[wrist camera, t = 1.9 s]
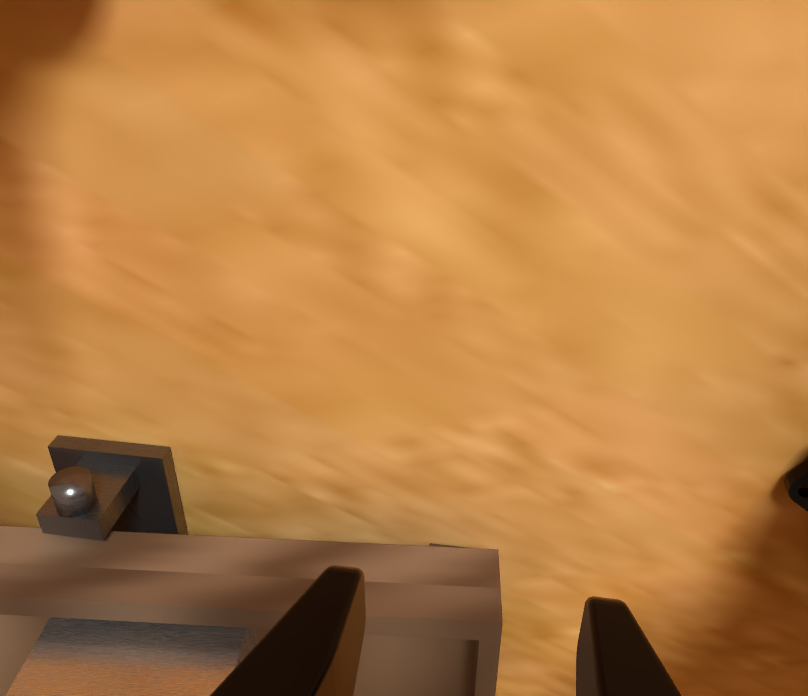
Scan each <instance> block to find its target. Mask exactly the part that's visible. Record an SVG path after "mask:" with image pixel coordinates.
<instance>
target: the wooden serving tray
mask: <svg viewBox="0 0 808 696" xmlns="http://www.w3.org/2000/svg"><path fill="white" fill-rule="evenodd" d="M331 565H339V566H347V567H355V568H359V569H361V570H362V571H363V573H364V581H365V606H366V622H365V632H364V638H363V643H362V649H361V655H360V660H359V666H358V671H357V677H356V683H355V688H354V694H353V696H495V691H496V681H497V671H498V661H499V652H500V642H501V632H502V606H501V589H500V572H499V555H498V550H495V549H474V548H453V547H432V546H411V545H390V544H369V543H348V542H327V541H306V540H285V539H264V538H243V537H222V536H201V535H180V534H159V533H138V532H117V531H109V533H108V534H107V536H106V537H105V539H104V540H94V539H86V538H78V537H70V536H62V535H54V534H46V533H43V532H42V529H41V528H33V527H12V526H0V696H6V694H7V692H8V690H9V689H10V687H11V685H12V683H13V682H14V680H15V678H16V676H17V675H18V673H19V671H20V669H21V668H22V666H23V664H24V662H25V661H26V659H27V657H28V655H29V654H30V652H31V650H32V648H33V647H34V645H35V643H36V641H37V639H38V638H39V636H40V634H41V632H42V631H43V629H44V627H45V625H46V624H47V622H48V620H49V618H50V617H57V618H75V619H94V620H112V621H130V622H149V623H167V624H186V625H204V626H223V627H241V628H256V631H257V638H258V642H259V641H260V640H261V639H262V638H263V637H264V636H265V635H266V633H267V632H268V631H269V630H270V629H271V628H272V627H273V626H274V625H275V624H276V623H277V621H278V620H279V619H280V618H281V617H282V616H283V615H284V614H285V613H286V612H287V611H288V609H289V608H290V607H291V606H292V605H293V604H294V603H295V602H296V601H297V600H298V598H299V597H300V596H301V595H302V594H303V593H304V592H305V591H306V590H307V589H308V588H309V586H310V585H311V584H312V583H313V582H314V581H315V580H316V579H317V578H318V577H319V576H320V574H321V573H322V572H323V571H324V570H325V569H326V568H327V567H329V566H331Z"/></svg>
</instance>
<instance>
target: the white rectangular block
mask: <svg viewBox="0 0 808 696" xmlns="http://www.w3.org/2000/svg"><path fill="white" fill-rule="evenodd" d="M257 643H258V638H257V631H256V628H241V627H223V626H204V625H186V624H167V623H149V622H130V621H112V620H94V619H75V618H57V617H50V618H49V620H48V622H47V624H46V625H45V627H44V629H43V631H42V632H41V634H40V636H39V638H38V639H37V641H36V643H35V645H34V647H33V648H32V650H31V652H30V654H29V655H28V657H27V659H26V661H25V662H24V664H23V666H22V668H21V669H20V671H19V673H18V675H17V676H16V678H15V680H14V682H13V683H12V685H11V687H10V689H9V690H8V692H7V694H6V696H210V695H211V694H212V693H213V691H214V690H215V689H216V688H217V687H218V686H219V685H220V684H221V683H222V682H223V681H224V679H225V678H226V677H227V676H228V675H229V674H230V673H231V672H232V671H233V670H234V668H235V667H236V666H237V665H238V664H239V663H240V662H241V661H242V660H243V659H244V658H245V656H246V655H247V654H248V653H249V652H250V651H251V650H252V649H253V648H254V647H255V646H256V644H257Z"/></svg>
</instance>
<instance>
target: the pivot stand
mask: <svg viewBox="0 0 808 696" xmlns="http://www.w3.org/2000/svg"><path fill="white" fill-rule="evenodd" d="M48 449H49V452H50V455H51V458H52V462H53V465H54V468H55V471H56V473H55V474H54V475H53V476H52V477H51V478H50V480H49V482H48V486H49V489H50V492H51V497H50V498H49V499H48V500H47V501H46V503H45V504H44V505H43V506H42V507H41V509H40V510H39V511H38V512H37V514H36V515H37V518H38V521H39V524H40V526H41V529H42V532H43V533H46V534H54V535H62V536H70V537H78V538H86V539H94V540H104V539H105V537H106V536H107V534H108V533H109V531H117V532H138V533H159V534H180V535H188V533H187V528H186V523H185V518H184V513H183V508H182V503H181V498H180V494H179V489H178V484H177V479H176V474H175V469H174V464H173V459H172V454H171V450H170V447H164V446H154V445H144V444H135V443H125V442H116V441H106V440H96V439H87V438H77V437H68V436H57V437H56V438H55V439H54V440H53V441H52V442H51V444H50V445H49V446H48ZM430 546H432V547H453V548H465V547H457V546H448V545H440V544H431V543H430Z"/></svg>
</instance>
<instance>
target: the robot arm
mask: <svg viewBox="0 0 808 696" xmlns="http://www.w3.org/2000/svg"><path fill="white" fill-rule="evenodd" d="M805 484H808V461H806V462H805V463H803V464H802V465H801V466H799V467H798V468H796V469H795V470H793V471H792V472H791V473H790V474H789V475H788V476H787V477H786V479H785V487H786V490H787V492H788V495H789V497H790V498H791V499H792V500H793V501H794V502H795V503H797V504H798V505H800V506H801V507H802V508H804V509H805V510H806V511H808V487H807V488H800V487H801V486H802V485H805ZM365 622H366V606H365V581H364V573H363V571H362V570H361V569H359V568H355V567H347V566H339V565H331V566H329V567H327V568H326V569H325V570H324V571H323V572H322V573H321V574H320V576H319V577H318V578H317V579H316V580H315V581H314V582H313V583H312V584H311V585H310V586H309V588H308V589H307V590H306V591H305V592H304V593H303V594H302V595H301V596H300V597H299V598H298V600H297V601H296V602H295V603H294V604H293V605H292V606H291V607H290V608H289V609H288V611H287V612H286V613H285V614H284V615H283V616H282V617H281V618H280V619H279V620H278V621H277V623H276V624H275V625H274V626H273V627H272V628H271V629H270V630H269V631H268V632H267V633H266V635H265V636H264V637H263V638H262V639H261V640H260V641H259V642H258V643H257V644H256V646H255V647H254V648H253V649H252V650H251V651H250V652H249V653H248V654H247V655H246V656H245V658H244V659H243V660H242V661H241V662H240V663H239V664H238V665H237V666H236V667H235V668H234V670H233V671H232V672H231V673H230V674H229V675H228V676H227V677H226V678H225V679H224V681H223V682H222V683H221V684H220V685H219V686H218V687H217V688H216V689H215V690H214V691H213V693H212V694H211V695H210V696H353V694H354V688H355V683H356V677H357V671H358V666H359V660H360V655H361V649H362V643H363V638H364V632H365ZM576 696H681V694H680V693H679V691H678V689H677V688H676V686H675V684H674V683H673V681H672V679H671V678H670V676H669V674H668V673H667V671H666V669H665V668H664V666H663V664H662V663H661V661H660V659H659V658H658V656H657V654H656V653H655V651H654V649H653V648H652V646H651V644H650V643H649V641H648V639H647V638H646V636H645V634H644V633H643V631H642V629H641V628H640V626H639V624H638V623H637V621H636V619H635V618H634V616H633V615H632V613H631V611H630V610H629V608H628V607H627V605H626V604H625V603H624V602H623V601H621V600H618V599H610V598H601V597H589V598H588V599H587V600H586V602H585V606H584V612H583V617H582V623H581V628H580V634H579V639H578V645H577V658H576Z"/></svg>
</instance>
